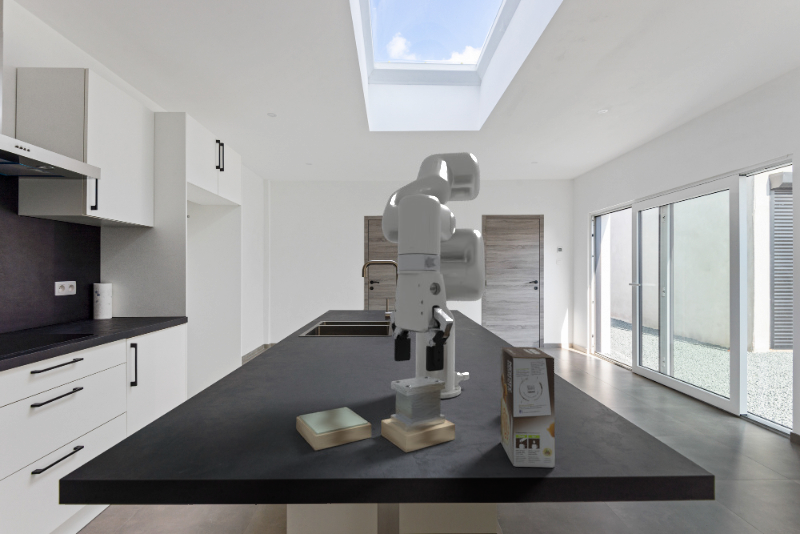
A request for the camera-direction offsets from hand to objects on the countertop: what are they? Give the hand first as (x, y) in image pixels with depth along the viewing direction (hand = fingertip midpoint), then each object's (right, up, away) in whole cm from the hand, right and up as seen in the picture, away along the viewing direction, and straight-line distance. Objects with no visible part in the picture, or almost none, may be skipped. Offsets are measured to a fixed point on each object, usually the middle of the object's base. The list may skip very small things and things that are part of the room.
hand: (417, 365), depth 66 cm
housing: (0, -10, 0) cm, 10 cm away
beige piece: (0, -13, 0) cm, 13 cm away
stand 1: (-15, -12, +2) cm, 19 cm away
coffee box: (+17, -13, -6) cm, 22 cm away
